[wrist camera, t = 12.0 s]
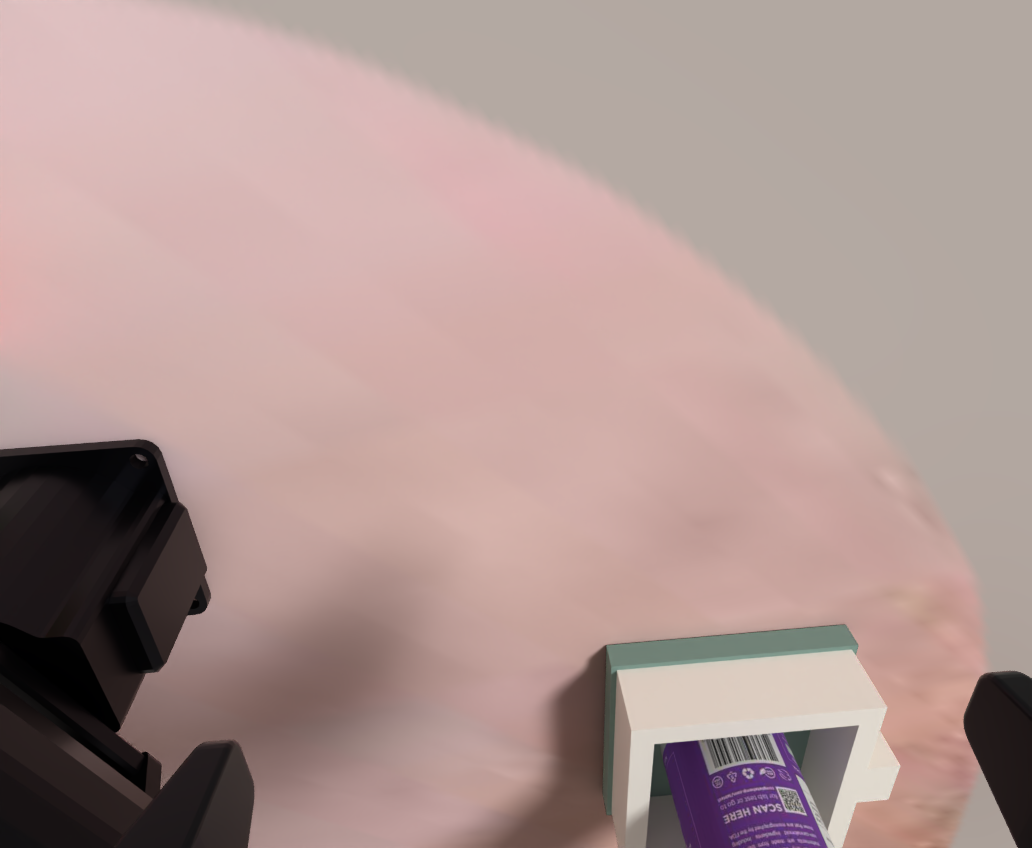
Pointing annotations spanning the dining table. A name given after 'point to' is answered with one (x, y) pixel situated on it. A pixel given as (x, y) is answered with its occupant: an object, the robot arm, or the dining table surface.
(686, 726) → the board
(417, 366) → the dining table surface
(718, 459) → the dining table surface
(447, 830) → the dining table surface
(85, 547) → the robot arm
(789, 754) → the container
